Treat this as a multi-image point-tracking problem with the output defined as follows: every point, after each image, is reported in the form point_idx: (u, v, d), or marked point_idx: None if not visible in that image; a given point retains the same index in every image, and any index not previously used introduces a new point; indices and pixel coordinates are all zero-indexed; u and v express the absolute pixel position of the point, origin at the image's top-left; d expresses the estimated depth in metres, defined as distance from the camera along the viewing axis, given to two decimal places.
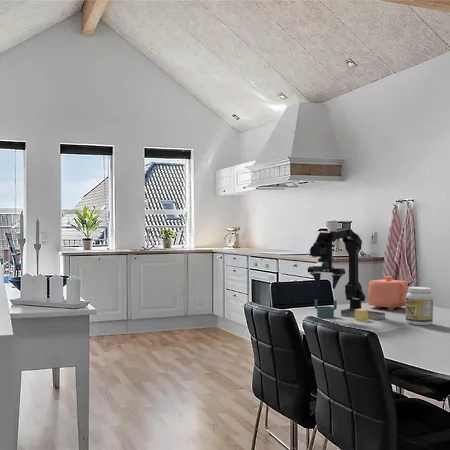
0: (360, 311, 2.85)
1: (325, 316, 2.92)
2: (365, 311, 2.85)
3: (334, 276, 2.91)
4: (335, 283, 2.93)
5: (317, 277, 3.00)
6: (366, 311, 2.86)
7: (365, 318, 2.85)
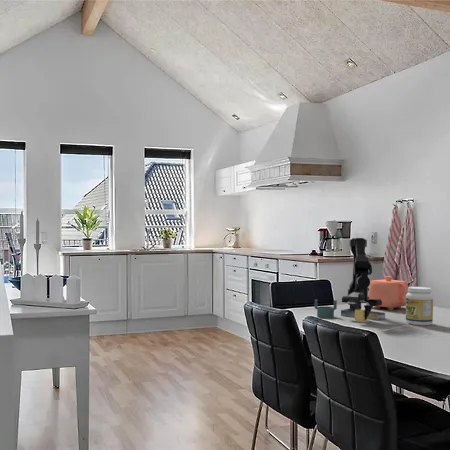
0: (360, 311, 2.85)
1: (325, 316, 2.92)
2: None
3: (366, 307, 2.82)
4: (367, 314, 2.85)
5: (356, 308, 2.89)
6: None
7: None
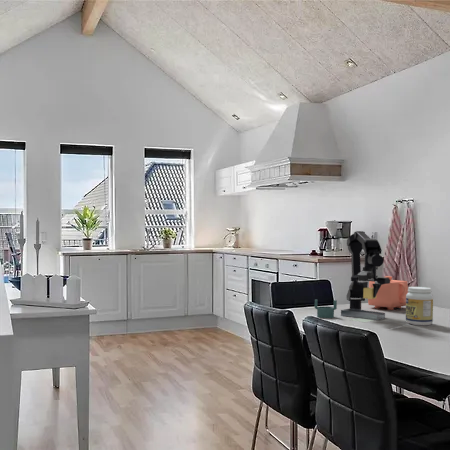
0: (369, 289, 2.93)
1: (325, 316, 2.92)
2: None
3: (375, 285, 2.90)
4: (376, 292, 2.92)
5: (364, 286, 2.96)
6: None
7: None
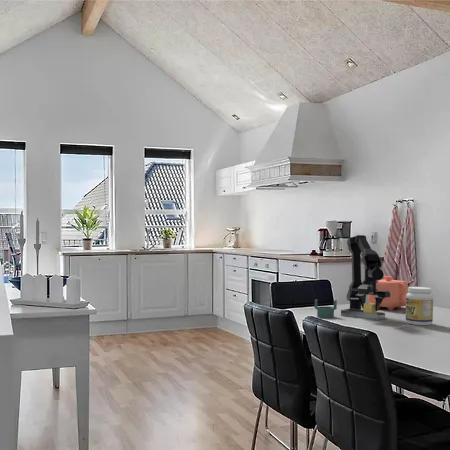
0: (369, 305, 2.93)
1: (325, 316, 2.92)
2: (374, 305, 2.93)
3: (377, 299, 2.90)
4: (378, 305, 2.92)
5: (363, 299, 2.97)
6: None
7: (374, 312, 2.94)
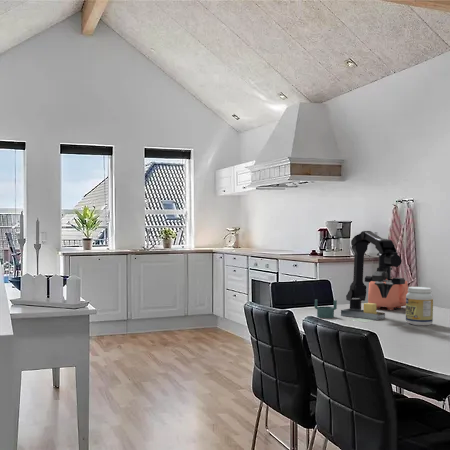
0: (369, 305, 2.93)
1: (325, 316, 2.92)
2: (374, 305, 2.93)
3: (386, 285, 2.86)
4: (387, 292, 2.89)
5: (382, 287, 2.90)
6: (375, 305, 2.94)
7: (374, 312, 2.94)
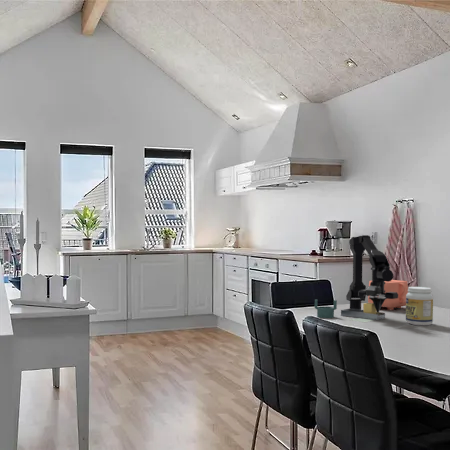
0: (368, 305, 2.93)
1: (325, 316, 2.92)
2: (373, 305, 2.94)
3: (379, 299, 2.89)
4: (379, 306, 2.91)
5: None
6: (374, 305, 2.94)
7: (374, 311, 2.94)
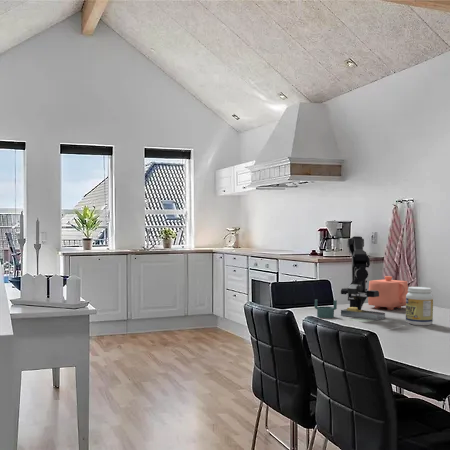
0: (348, 310, 3.01)
1: (325, 316, 2.92)
2: (350, 307, 3.02)
3: (360, 298, 2.96)
4: (361, 304, 2.98)
5: (358, 300, 2.99)
6: (351, 307, 3.03)
7: (356, 308, 3.00)
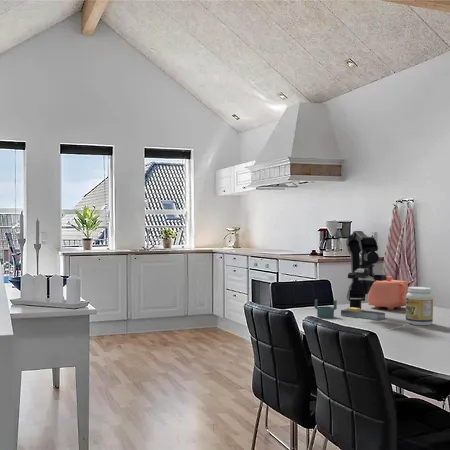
0: (348, 310, 3.01)
1: (325, 316, 2.92)
2: (350, 307, 3.02)
3: (368, 282, 2.93)
4: (368, 288, 2.95)
5: (365, 284, 2.96)
6: (351, 307, 3.03)
7: (356, 308, 3.00)
